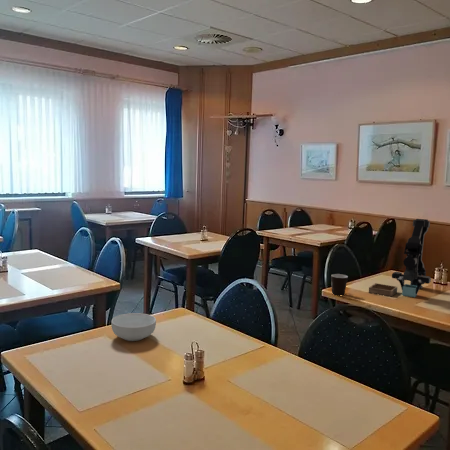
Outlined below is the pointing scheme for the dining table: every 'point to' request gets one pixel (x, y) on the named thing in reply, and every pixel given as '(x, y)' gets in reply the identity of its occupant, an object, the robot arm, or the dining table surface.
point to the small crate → (409, 290)
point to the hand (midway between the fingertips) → (409, 293)
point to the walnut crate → (383, 289)
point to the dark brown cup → (338, 284)
